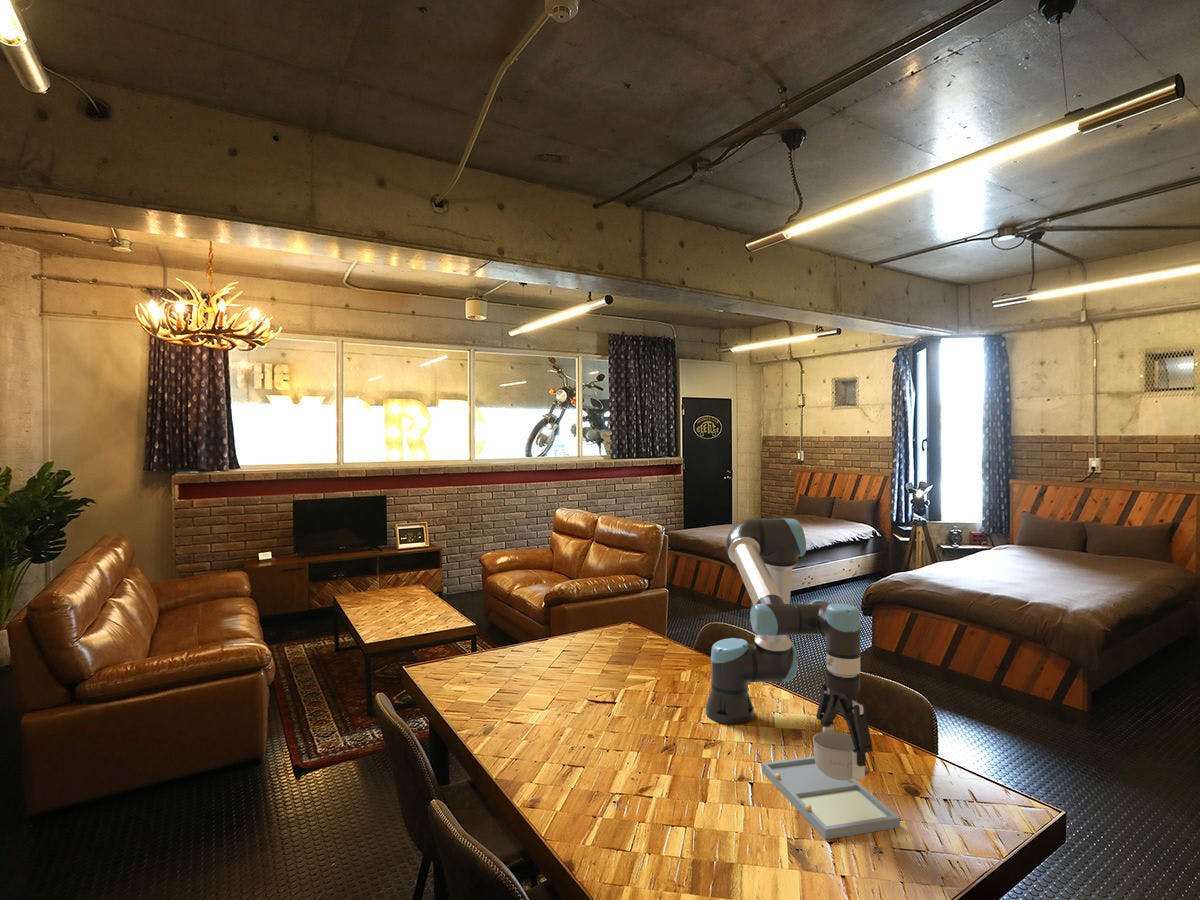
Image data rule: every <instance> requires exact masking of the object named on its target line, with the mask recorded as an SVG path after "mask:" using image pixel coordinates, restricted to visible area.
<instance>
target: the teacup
mask: <svg viewBox="0 0 1200 900" xmlns="http://www.w3.org/2000/svg"><path fill="white" fill-rule="evenodd" d="M812 742H813V754H814V755H813V756H814V757H815V762H816V765H817V767H818V768H819V770H821V771H822V772H823V773H824V774H825V775H826V776H828V777H829V778H832V779H835V780H850V779H852V749H855V748H854V744H853V741H852V738H851V735H850V733H846V732H840V731H835V730H834V731H827V732H822V731H821V732H818V733H815V734H814V736H813V737H812Z"/></svg>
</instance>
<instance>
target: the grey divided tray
mask: <svg viewBox="0 0 1200 900" xmlns="http://www.w3.org/2000/svg"><path fill="white" fill-rule="evenodd" d="M761 772H762V773H763V775H764V776H765V777H767V779H768V780H769V781H770V782H772V783H771V784H773V785H774V786H775V788H777V789H778V791H780V793H781V794H782V795H783V796H784V798H786V799H787V800H788V801H789V802H790V803H791V804H792V806H793V807H794V808H795V809H796V810H797V811H798V812H799V814H801V815H802V817H803V818H804V819H805V820H806V821H808V823H809V824H810V825H811V826H812V827H813V828H814V830H816V832H817V833H818V834H819V835H820V836H821V837H822V838H823V839H824V840H831V839H837V838H844V837H851V836H855V835H862V834H867V833H874V832H881V831H887V830H892V829H893V830H894V829H898V828H901V817H900V816H899V815H897V814H896V813H895V812H894V811H893V810H892V809H890V808H889V807H888V806H887V805H885V803H883V802H882V801H880V799H878V798H877V796H875V795H874V794H872V792H870V791H869V790H868V789H867V788H865V786H863V785H862V784H861V783H860V782H858V780H857V779H856V780H854V779H853V778H852V779H850V780H835V779H832V778H829V777H828V776H826V775H825V774H824V773H823V772H822V771H821V770H819V768H818V767H817V765H816V762H815V757H814V755H813V756H806V757H799V758H791V759H785V760H784V759H783V760H774V761H767V762H761Z"/></svg>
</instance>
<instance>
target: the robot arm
mask: <svg viewBox="0 0 1200 900" xmlns="http://www.w3.org/2000/svg"><path fill="white" fill-rule="evenodd" d="M806 540H807V539H806V534H805V532H804V529H803V527H802V524H801V523H800V522H799V521H798V520H797V519H795V518H785V517H780V518H778V517H777V518H774V517H772V518H747V519H743V520H741V521H739V522H738V523H736V524H735V525H734V526H733V527H732V528H731V529H730V530H729V533H728V534H727V537H726V541H725V548H726V553H727V555H728V558H729V560H730V561H731V562H732V563H733V564H735V566H736V568H737V571H738V572H739V574H740V577H741V580H742V582H743V585H744V586H745V589H746V590H747V593H748V595H749V598H750V599H751V602H752V606H751V608H750V613H749V615H750V616H749V618H750V619H749V621H750V623H751V625H750V626H751V629H752V630H753V632H754V633H755V634H756V635H755V636H754V642H753V644H752V643H750V644H749V643H748V641H747V640H746V639H743V638H737V637H730V638H724V639H720V640H718V641H716V642H714V643H713V644H712V646H711V652H710V653H711V655H710V667H711V669H710V675H711V676H710V679H711V680H710V683H711V685H710V687H711V688H710V692H709V694H708V697H707V700H706V704H705V715H706V716H707V717H708V718H709V717H710V720H713V721H715V722H718V723H721V724H726V725H727V724H728V725H741V724H747V723H749V722H751V721H752V720H753V719H754V717H755V716H754V715H755V713H754V712H755V711H754V706H753V703H752V700H751V696H750V693H749V684H750V683H776V684H777V683H782V682H785V683H786V682H790V681H792V680H793V679H794V677H795V676H796V674H797V671H798V668H799V667H798V665H799V659H798V652H797V648H796V647H795V645H794V644H793V642H792V640H791V639H790V638H789V637H788V636H807V635H809V636H813V635H814V636H815V635H820V636H822V637H824V638H825V652H826V655H825V664H826V665H825V669H827V670H826V671H825V683H824V684H821V694H820V698H819V703H818V708H817V712H816V716H815V717H816V720H818V721H820V725H821V728H822V729H821V732H827V731H834V732H835V726H834V724H835V722H834V721H835V719H836V717H837V715H838V714H839V713H840V714H841V715H842V718H843V719H844V720H845V721H846V725H847V727H848V731H849V735H851V738H852V741H853V744H854V748H855V749H852V778H853V779H854V780H856V781H857V780H862V779H865V778H866V773H865V768H866V764H867V763H866V761H867V758H866V757H867V753H872V752H873V750H874V749H873V748H874V747H873V742H872V739H871V733H870V729H869V728H870V727H869V723H868V717H867V706H866V704H865V703H863V704H862V703H859V702H858V700H857V694H858V693H859V692H860V691H861V675H860V673H861V627H862V624H861V623H862V622H861V613H860V610H859V608H858V607H856V606H854V605H851V604H847V603H839V602H838V603H830V602H827V601H824V600H822V599H815V600H812V601H810V602H808V603H791V592H792V591H791V590H792V577H793V576H792V574H793V573H792V572H793V568H795V567H796V566H797V565H798V563H799V557H804V556H805V555H806V551H807V541H806ZM852 713H853V714H852Z"/></svg>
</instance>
